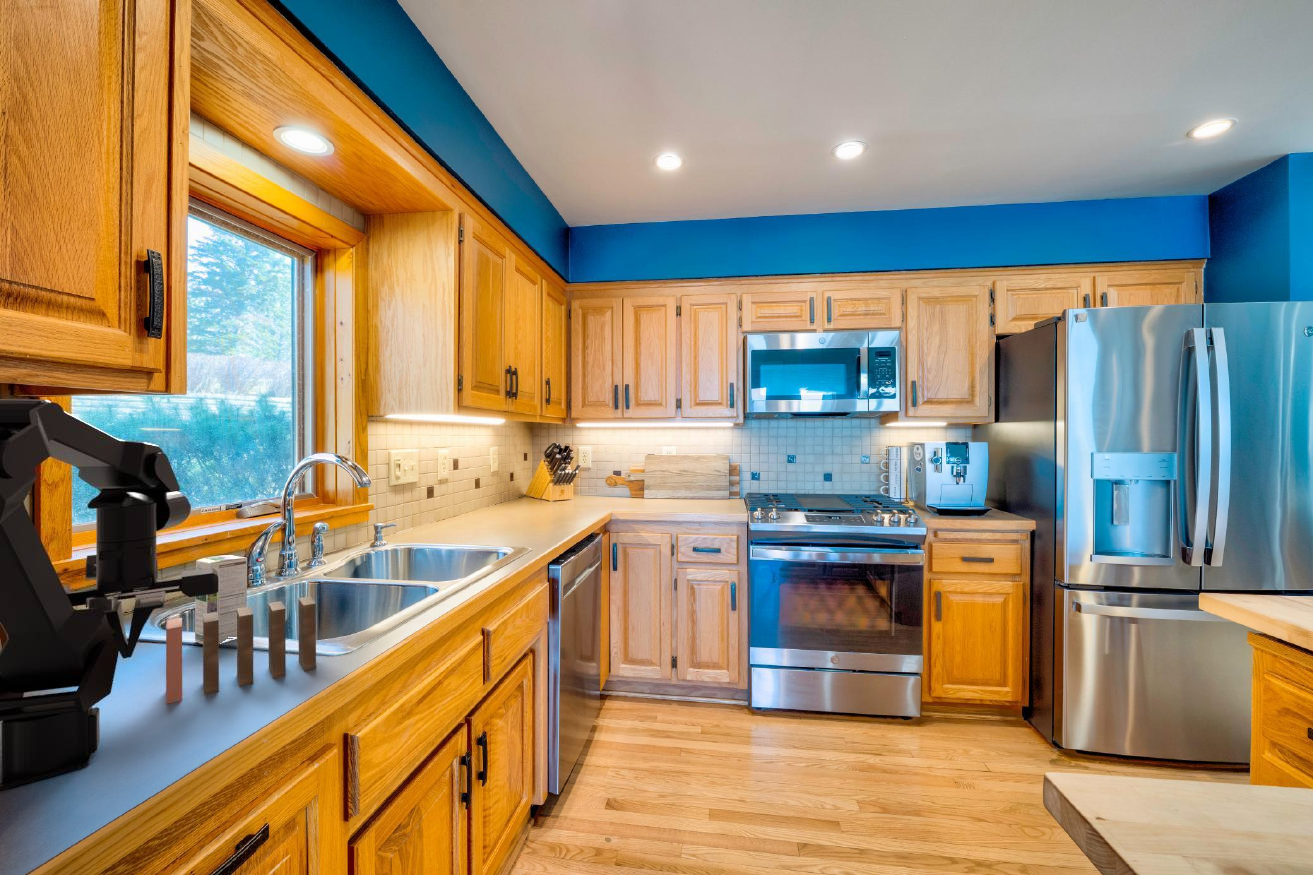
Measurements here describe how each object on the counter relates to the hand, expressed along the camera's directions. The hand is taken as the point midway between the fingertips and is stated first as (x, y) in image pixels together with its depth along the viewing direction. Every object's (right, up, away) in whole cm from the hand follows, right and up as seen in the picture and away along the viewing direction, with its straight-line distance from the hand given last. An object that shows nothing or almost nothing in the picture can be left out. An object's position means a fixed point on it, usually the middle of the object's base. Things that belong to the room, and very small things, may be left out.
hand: (127, 657), depth 72 cm
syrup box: (-7, -7, +24) cm, 26 cm away
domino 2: (+6, -7, +6) cm, 11 cm away
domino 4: (+12, -7, +11) cm, 18 cm away
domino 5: (+15, -7, +13) cm, 21 cm away
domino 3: (+9, -7, +8) cm, 14 cm away
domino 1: (+4, -7, +3) cm, 8 cm away
